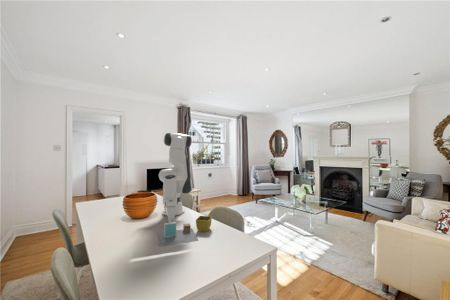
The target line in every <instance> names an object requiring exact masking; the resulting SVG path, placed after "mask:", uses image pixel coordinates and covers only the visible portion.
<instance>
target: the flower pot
mask: <svg viewBox="0 0 450 300" xmlns="http://www.w3.org/2000/svg"><path fill="white" fill-rule="evenodd" d="M212 219H213V218H212V216H208V215H199V216H198V217H197V218H196V219H195V225H196V230H197V231H198V232H204V233H207V232H209V230H210V228H211V226H212Z"/></svg>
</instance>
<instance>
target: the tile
mask: <svg viewBox="0 0 450 300" xmlns="http://www.w3.org/2000/svg"><path fill="white" fill-rule="evenodd" d="M163 227H164V231H163V232H164V237H171V236H176V230H177V222H176V221H172V222H171V223H169V222H166V223H165V222H164V226H163Z"/></svg>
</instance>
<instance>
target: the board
mask: <svg viewBox="0 0 450 300" xmlns="http://www.w3.org/2000/svg"><path fill="white" fill-rule="evenodd" d="M157 236H158V247H166V246H171V245H172V246H173V245H179V244H181V245H182V244H187V243H193V242H199V239H198V237H197V235H196V233H195V232H194V229H193V228H191V230H190V232H184V230H183V229H176V236H171V237H164V231H160V232H158V233H157Z"/></svg>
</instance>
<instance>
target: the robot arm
mask: <svg viewBox="0 0 450 300" xmlns="http://www.w3.org/2000/svg"><path fill="white" fill-rule="evenodd" d="M163 143H164V145H165V146H167V147H169V153H168V162H169V164H171V165H173V166H174V167H173V168H165V169H161V170H160V171H159V173H158V178H159V180H160V181H161V182H162V183H163V185H162V191H163V194H162V205H163V208H164V209H163V210H162V213H161V215H164V216H166V217H167V221H168V222H167V223H172V220H175V216H178V215H179V216H180V215H182V214H183V213H185V210H183V202H182V197H181V194H187V195H188V194H189V193H191V192H192V191H193V186H194V185H193V181H192V174H191V166H190V165H191V164H190V160H189V157H188V156H186V154H185V152H186V149H187V148H190V147H191V145H192V144H193V139H192V136H191V135H189V134H183V133H175V132H174V133H171V132H167V133H165V135H164V136H163Z"/></svg>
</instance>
